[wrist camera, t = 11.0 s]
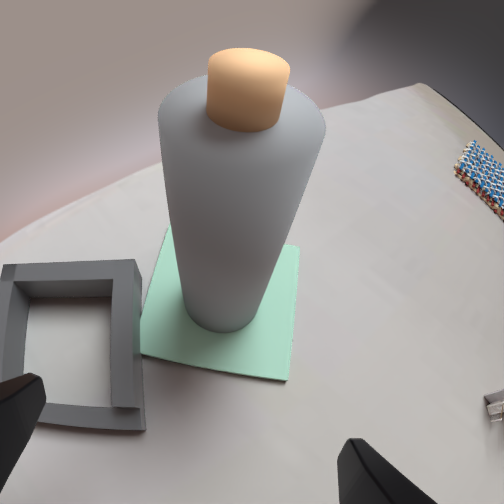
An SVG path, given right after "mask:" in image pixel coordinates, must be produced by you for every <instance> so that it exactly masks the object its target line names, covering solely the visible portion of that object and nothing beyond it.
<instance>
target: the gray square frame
mask: <svg viewBox="0 0 504 504" xmlns="http://www.w3.org/2000/svg"><path fill="white" fill-rule="evenodd" d="M30 297H112V310H111V345H110V368H111V402H112V407H116V408H106V407H88V406H75V405H64V404H55V403H45V406H44V408H43V410H42V412H41V415H40V417H39V419H38V422H45V423H52V424H60V425H68V426H77V427H88V428H101V429H119V430H146V422H145V410H144V395H143V375H142V354H141V353H140V319H141V301H142V277H141V274H140V272H139V269H138V266H137V264H136V261H135V259H124V260H100V261H77V262H52V263H28V264H3V268H2V273H1V277H0V382H3V381H6V380H9V379H12V378H15V377H18V376H21V375H23V367H24V350H25V338H26V328H27V319H28V311H29V303H30Z"/></svg>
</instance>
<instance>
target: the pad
mask: <svg viewBox="0 0 504 504" xmlns="http://www.w3.org/2000/svg"><path fill="white" fill-rule="evenodd" d="M299 253H300V247H297V246H292V245H287V244H284V245H283V248H282V251H281V253H280V256H279V258H278V261H277V263H276V266H275V268H274V271H273V273H272V276H271V278H270V281H269V283H268V286H267V288H266V291H265V293H264V296H263V298H262V301H261V303H260V306H259V308H258V311H257V313H256V315H255V317H254V318H253V319H252V321H251V322H250V323H249V324H247V325H246V326H245V327H243V328H241V329H240V330H237V331H234V332H230V333H215V332H211V331H208V330H206V329H204V328H202V327H200V326H199V325H197V324H196V323H195V322H194V321H193V320H192V319H191V317H190V316H189V314H188V313H187V310H186V308H185V304H184V299H183V294H182V289H181V283H180V278H179V272H178V267H177V261H176V255H175V249H174V243H173V236H172V230H171V223H170V224H169V227H168V230H167V233H166V236H165V239H164V242H163V245H162V248H161V252H160V255H159V258H158V261H157V264H156V267H155V271H154V274H153V277H152V280H151V284H150V287H149V290H148V294H147V297H146V301H145V304H144V308H143V311H142V315H141V319H140V353H141V354H143V355H147V356H151V357H155V358H159V359H163V360H168V361H172V362H177V363H181V364H186V365H191V366H196V367H201V368H206V369H211V370H217V371H222V372H228V373H234V374H240V375H246V376H253V377H259V378H266V379H274V380H282V381H287V380H288V376H289V367H290V357H291V347H292V337H293V327H294V316H295V305H296V293H297V280H298V267H299Z"/></svg>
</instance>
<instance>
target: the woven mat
mask: <svg viewBox="0 0 504 504" xmlns="http://www.w3.org/2000/svg"><path fill="white" fill-rule="evenodd" d="M476 142H477V141H475V140H474V142H470V144H467V148H466V149H464V155H462V156H460V157H459V158H458V160H459V164H455V168H456V170H457V172H456V171H454V173H455V174H456V175H457V176H458V177H459V178H460V179H461V180H462V181H464V182H465V183H466V184H467V185H468V186H469V187H470V188H471V189H472V190H473V191H474V192H476V193H477V194H478V195H479V196H480V197H481V198H482V199H483V200H484V201H485V202H486V203H487V204H488V205H489V206H490V207H491V208H492V209H494V212H495V213H496V212H497V214H498V215H499V216H500V217H501V218H502V219H503V220H504V216H503V215H504V168H502V169H501V165H502V164H501V163H499V165H497V162H496V161H494V162H493V156H492V155H491V157H488V156H489V155H488V153H486V154H485V152H484V151H485V149H484V148H483V149H482V150H480V149H479V148H480V146H479V145H478V146H477V147H476V145H475V143H476ZM474 146H475V147H474ZM478 151H479V153H478ZM483 154H484V155H483ZM483 156H484V157H483ZM486 160H488V161H486ZM470 168H472V169H470ZM463 171H464V172H463ZM459 173H461V174H462V175H460V174H459ZM476 173H477V174H476ZM466 174H467V175H468V176H469V177H468V176H467V175H466ZM472 179H474V181H473V180H472ZM477 184H479V185H477ZM484 185H485V186H484ZM475 187H476V188H477V189H476V188H475ZM479 191H480V192H479ZM493 194H494V195H493ZM485 196H486V197H487V199H486V198H485ZM491 197H492V198H493V199H492V198H491ZM489 200H490V201H491V203H490V202H489ZM496 202H497V203H496Z"/></svg>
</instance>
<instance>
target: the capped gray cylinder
mask: <svg viewBox="0 0 504 504" xmlns="http://www.w3.org/2000/svg"><path fill="white" fill-rule="evenodd" d="M289 73H290V67H289V65H288V64H287V62H286V61H284V60H283V59H282V58H280V57H278V56H276V55H274V54H272V53H269V52H266V51H262V50H257V49H249V48H233V49H227V50H222V51H219V52H217V53H215V54H214V55H212V56H211V57H210V59H209V63H208V75H205V76H200V77H197V78H194V79H191V80H189V81H187V82H184V83H183V84H181V85H179V86H177V87H176V88H175V89H173V90H172V91H171V92H170V93H169V94H167V96H166V97H165V98H164V100H163V101H162V103H161V105H160V108H159V111H158V125H159V136H160V145H161V154H162V163H163V172H164V180H165V188H166V195H167V203H168V210H169V217H170V223H171V230H172V236H173V243H174V249H175V255H176V261H177V267H178V272H179V278H180V283H181V289H182V294H183V299H184V304H185V308H186V310H187V313H188V314H189V316H190V317H191V319H192V320H193V321H194V322H195V323H196V324H197V325H199V326H200V327H202V328H204V329H206V330H208V331H211V332H215V333H230V332H234V331H237V330H240V329H241V328H243V327H245V326H246V325H247V324H249V323H250V322H251V321H252V319H253V318H254V317H255V315H256V313H257V311H258V308H259V306H260V303H261V301H262V298H263V296H264V293H265V291H266V288H267V286H268V283H269V281H270V278H271V276H272V273H273V271H274V268H275V266H276V263H277V261H278V258H279V256H280V253H281V251H282V248H283V245H284V243H285V240H286V238H287V235H288V233H289V230H290V227H291V225H292V222H293V220H294V217H295V214H296V212H297V209H298V207H299V204H300V201H301V199H302V196H303V193H304V191H305V188H306V185H307V183H308V180H309V177H310V175H311V172H312V169H313V167H314V164H315V161H316V159H317V156H318V153H319V150H320V148H321V145H322V142H323V139H324V136H325V132H326V125H325V120H324V117H323V115H322V113H321V111H320V109H319V108H318V107H317V106H316V104H315V103H314V102H313V101H312V100H311V99H310V98H309V97H307V96H306V95H305V94H304V93H302V92H300V91H299V90H297V89H296V88H294V87H292V86H290V85H288V84H287V82H288V77H289Z"/></svg>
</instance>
